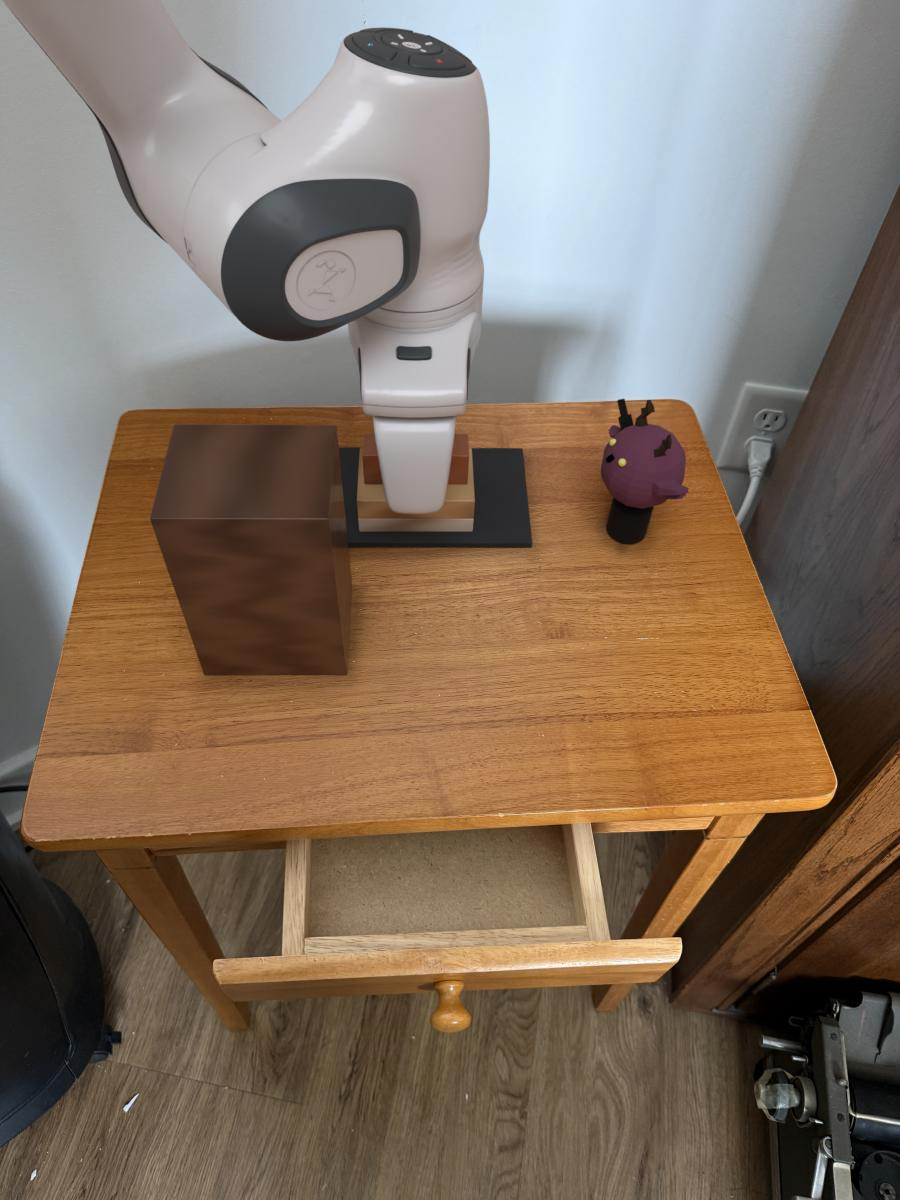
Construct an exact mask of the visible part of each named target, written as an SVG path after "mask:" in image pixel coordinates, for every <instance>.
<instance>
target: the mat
mask: <svg viewBox="0 0 900 1200" xmlns="http://www.w3.org/2000/svg"><path fill="white" fill-rule="evenodd" d="M360 448H363V446H358V447H357V446H354V447H353V446H351V447H350V446H339V456H340V466H341V476H342V487H343V497H344V507H345V518H346V528H347V538H348V548H484V549H485V548H491V549H493V548H494V549H495V548H496V549H497V548H502V549H503V548H508V549H509V548H517V549H519V548H522V549H523V548H524V549H525V548H532V547H533V539H532V538H533V537H532V528H531V517H530V509H529V500H528V489H527V478H526V469H525V459H524V452H523V448H522V447H471V448H472V460H473V477H474V494H475V507H474V521H473V531H472V532H360V531H359V521H358V509H357V490H358V472H359V454H360Z"/></svg>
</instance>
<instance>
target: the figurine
mask: <svg viewBox="0 0 900 1200" xmlns="http://www.w3.org/2000/svg"><path fill="white" fill-rule="evenodd" d="M616 403H617V407H618V411H619V417H618V419H617V420H618V424H619V426H618V425H615V424H612V425H611V426H610V427H609V429H608V436H609V437H610V438H611V439H610V440H608V442H607V444H605V447H604V451H603V454H602V460H601V466H600V476H601V479H602V482H603V483H604V485H605V487H606V489H607V491H608V492H609V494H610V496H611V497H612V500H611V504H610V508H609V513H608V517H607V520H606V524H605V525H606V526H605V529H606V533H607V535H608V536H609V538H611V539H612V540H613V541H615V542H616V543H619V544H622V545H635V544H638V543H640V542H642V541H643V540H644V539H645V538H646V536H647V531H648V528H649V525H650V522H651V518H652V515H653V511H654V507H657V506H660V505H662V504H664V503H665V502H666V501H668V500H682V499H684V497H687V494H689V487H687V486H685V485H683V482H684V480H685V474H686V464H687V457H686V451H685V449H684V447H683V446H682V445H681V443H680V441H679V440H678V439H677V437H676V436H675V434H674V433H673V432H671V431H669V430H668V429H666V428H664V427H662V426H661V425H658V424H651V423H648V418H647V417H648V416H649V415H650V414H652V413H655V412H656V411H655V406H654V403H653V402H652V400H651V399H647V400H646V403H645V407H641V408H640V414H639V416H637V417H636V418H635V421H634V420H633V415H632V413H630V414H629V412H628V408H627V403H626V399H625V398H620V399H617V401H616Z"/></svg>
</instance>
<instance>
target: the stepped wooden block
mask: <svg viewBox="0 0 900 1200" xmlns="http://www.w3.org/2000/svg"><path fill="white" fill-rule="evenodd" d="M469 445H470V443H469V434H468V433H455V437H454V444H453V452H452V459H451V466H450V473H449V479H448V486H447V492H446V497H445V501H444V504H443V507H442V508H441V510H440V511H438V512H436V513H430V514H400V513H395V512H393V511H391V510H390V508H389V507H388V505H387V502H386V499H385V495H384V489H383V484H382V478H381V472H380V466H379V460H378V454H377V448H376V441H375V434H374V433H363V434H362V447H363V448H360V454H359V472H358V490H357V509H358V521H359V531H360V532H472V531H473V521H474V507H475V494H474V477H473V460H472V448H473V447H469Z"/></svg>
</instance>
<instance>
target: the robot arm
mask: <svg viewBox="0 0 900 1200" xmlns="http://www.w3.org/2000/svg"><path fill="white" fill-rule="evenodd" d="M1 1H2V2H3V4H4V5H5V6H6V7H7V8H8V10H9V11H10V12H11V13H12V15H13V16H14V17H15V18H16V19H17V20H18V22H19V23H20V24H21V25H22V27H23V28H24V30H26V32H27V33H28V34H29V35H30V37H31V38H32V39H33V40H34V41H35V43H36V44H37V45H38V46H39V47H40V49H41V50H42V51H43V52H44V54H45V55H46V57H47V58H48V59H49V60H50V61H51V62H52V63H53V65H54V66H55V68H56V69H57V70H58V71H59V72H60V74H61V75H62V76H63V77H64V78H65V80H66V81H67V82H68V83H69V85H70V86H71V87H72V88H73V90H74V91H75V92H76V93H77V95H78V96H79V97H80V98H81V99H82V101H83V102H84V103H85V104H86V106H87V107H88V109H89V110H90V111H91V113H92V115H93V116H94V118H95V119H96V121H97V123H98V125H99V127H100V129H101V133H102V135H103V138H104V140H105V144H106V146H107V150H108V153H109V156H110V160H111V163H112V167H113V169H114V173H115V176H116V179H117V182H118V184H119V186H120V190H121V191H122V194H123V196H124V198H125V199H126V201H127V204H128V205H129V206H130V208H131V210H132V211H133V212H134V214H135V215H136V217H138V218H139V220H140V221H141V222H143V224H144V225H145V226H146V227H148V228H149V229H150V230H151V231H152V232H153V233H155V235H157V236H158V237H159V238H160V239H161V240H163V242H165V243H166V244H167V245H169V246H170V248H171V249H172V250H173V251H174V252H175V253H176V255H177V256H178V257H179V258H181V260H182V261H183V262H184V263H185V264H186V266H188V268H189V269H190V270H191V271H192V272H193V273H194V275H196V276H197V277H198V278H199V280H200V281H201V282H202V283H203V284H204V285H205V286H206V287H207V288H208V290H210V292H212V294H213V296H215V297H216V298H217V299H218V300H219V302H221V303H222V305H223V306H224V307H225V308H226V309H227V310H228V311H229V312H230V313H231V314H232V315H233V316H234V317H235V318H236V319H237V320H238V321H239V322H240V324H242V326H244V327H245V328H246V329H248V330H250V331H251V332H252V333H254V334H256V335H257V336H260V337H262V338H266V339H269V340H273V341H277V342H278V341H279V342H299V341H300V342H301V341H306V340H310V339H314V338H318V337H320V336H323V335H326V334H328V333H331V332H333V331H335V330H337V329H340V328H342V327H344V326H347V329H348V330H347V332H348V340H349V343H350V345H351V347H352V352H353V354H354V358H355V360H356V364H357V366H358V372H359V373H358V374H359V389H360V399H361V407H362V412H363V414H364V415H366V416H372V425H373V434H375V441H376V448H377V454H378V460H379V466H380V472H381V478H382V484H383V489H384V495H385V499H386V502H387V505H388V507H389V508H390V510H391V511H393V512H395V513H400V514H430V513H436V512H438V511H440V510H441V508H442V507H443V504H444V501H445V497H446V492H447V486H448V479H449V473H450V466H451V459H452V452H453V444H454V437H455V434H456V426H457V419H458V418H457V416H463V415H465V414H466V412H467V403H468V400H469V399H468V398H469V380H470V372H471V371H470V370H471V367H472V364H473V361H474V358H475V355H476V352H477V348H478V347H479V344H480V341H481V335H482V319H483V318H482V317H483V299H484V297H483V296H484V295H483V294H484V284H485V283H484V280H485V264H484V259H483V254H482V251H481V244H480V239H481V232H482V229H483V226H484V223H485V221H486V219H487V214H488V209H489V208H488V207H489V196H490V195H489V191H490V173H491V172H490V171H491V169H490V168H491V134H490V132H491V131H490V116H489V107H488V105H489V104H488V98H487V94H486V89H485V85H484V81H483V77H482V75H481V71H480V69H479V68H478V67H477V66H476V65H475V64H474V63H473V61H472V59H470V58H469V57H467V56H466V55H465V54H464V53H462V52H461V51H460V50H458V49H456V48H455V47H453V46H451V45H450V44H448V43H447V42H445V41H443V40H440V39H438V38H437V37H434V36H432V35H430V34H424V33H421V32H415V31H414V30H411V29H405V28H398V27H368V28H364V29H360V30H359V31H355V32H351V33H350V34H348V35H346V36H345V37H344V38H343V40H342V41H341V43H340V44H339V48H338V51H337V53H336V57H335V59H334V61H333V63H332V65H331V67H330V69H329V70H328V71H327V73H326V74H325V76H323V78H322V79H321V81H320V82H319V83H318V84H317V86H316V87H315V88H314V89H313V91H312V92H311V93H310V94H309V95H308V96H307V97H306V98H305V99H304V100H303V101H302V102H301V103H300V104H299V105H298V106H297V107H296V108H295V109H294V110H293V111H292V112H290V113H289V114H288V115H287V116H286V117H284V118H283V119H282V120H281V119H280V118H279V117H278V116H276V114H274V113H273V112H272V111H270V110H269V108H268V107H267V106H266V105H265V104H264V103H263V102H262V101H261V100H260V98H258V97H257V96H256V95H254V93H253V92H251V90H250V89H248V88H247V87H246V85H244V84H242V83H241V82H240V81H239V80H238V79H236V78H235V77H233V76H232V75H230V74H229V73H227V72H226V71H224V70H223V69H221V68H219V67H217V66H216V65H215V64H213V63H211V62H210V61H207V60H206V59H205V58H203V57H201V56H200V55H198V53H197V52H196V51H195V50H194V49H192V48H191V47H190V45H189V44H188V43H187V41H186V40H185V38H184V37H183V35H182V33H181V32H180V31H179V29H178V27H177V26H176V24H175V22H174V20H173V19H172V18H171V16H170V14H169V13H168V11H167V10H166V8H165V6H164V5H163V3H162V2H161V0H1Z"/></svg>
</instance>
